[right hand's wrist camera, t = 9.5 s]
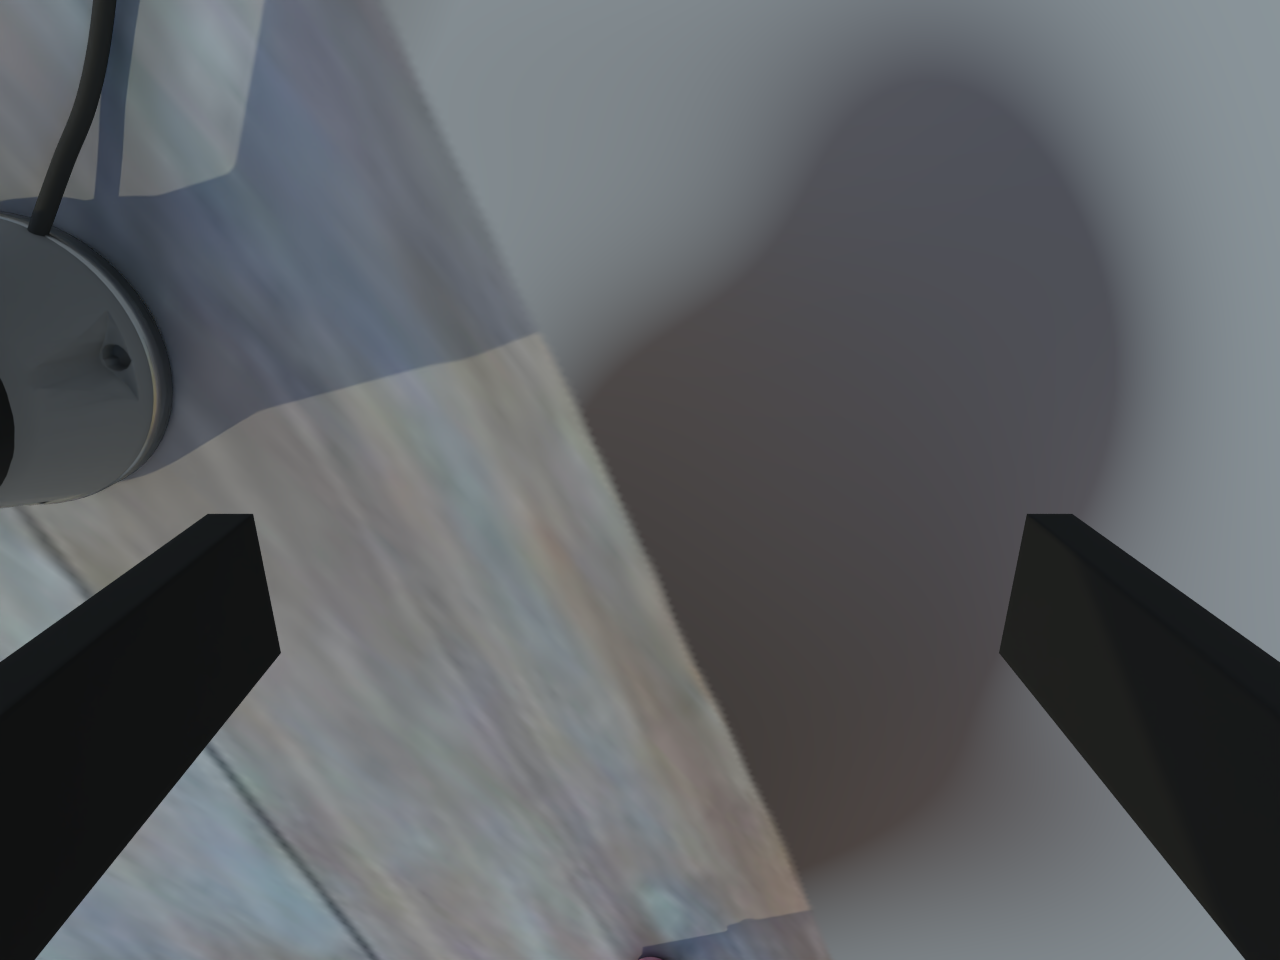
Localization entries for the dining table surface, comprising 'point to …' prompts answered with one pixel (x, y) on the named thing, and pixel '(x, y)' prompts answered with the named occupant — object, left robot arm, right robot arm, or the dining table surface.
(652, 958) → the dog chew toy
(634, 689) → the dining table surface
